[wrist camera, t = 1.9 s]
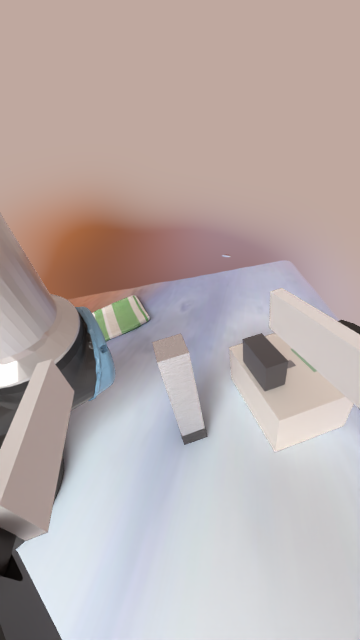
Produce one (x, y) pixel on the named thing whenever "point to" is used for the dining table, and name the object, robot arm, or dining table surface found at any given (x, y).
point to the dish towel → (121, 317)
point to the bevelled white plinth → (290, 399)
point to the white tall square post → (180, 386)
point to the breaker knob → (264, 362)
